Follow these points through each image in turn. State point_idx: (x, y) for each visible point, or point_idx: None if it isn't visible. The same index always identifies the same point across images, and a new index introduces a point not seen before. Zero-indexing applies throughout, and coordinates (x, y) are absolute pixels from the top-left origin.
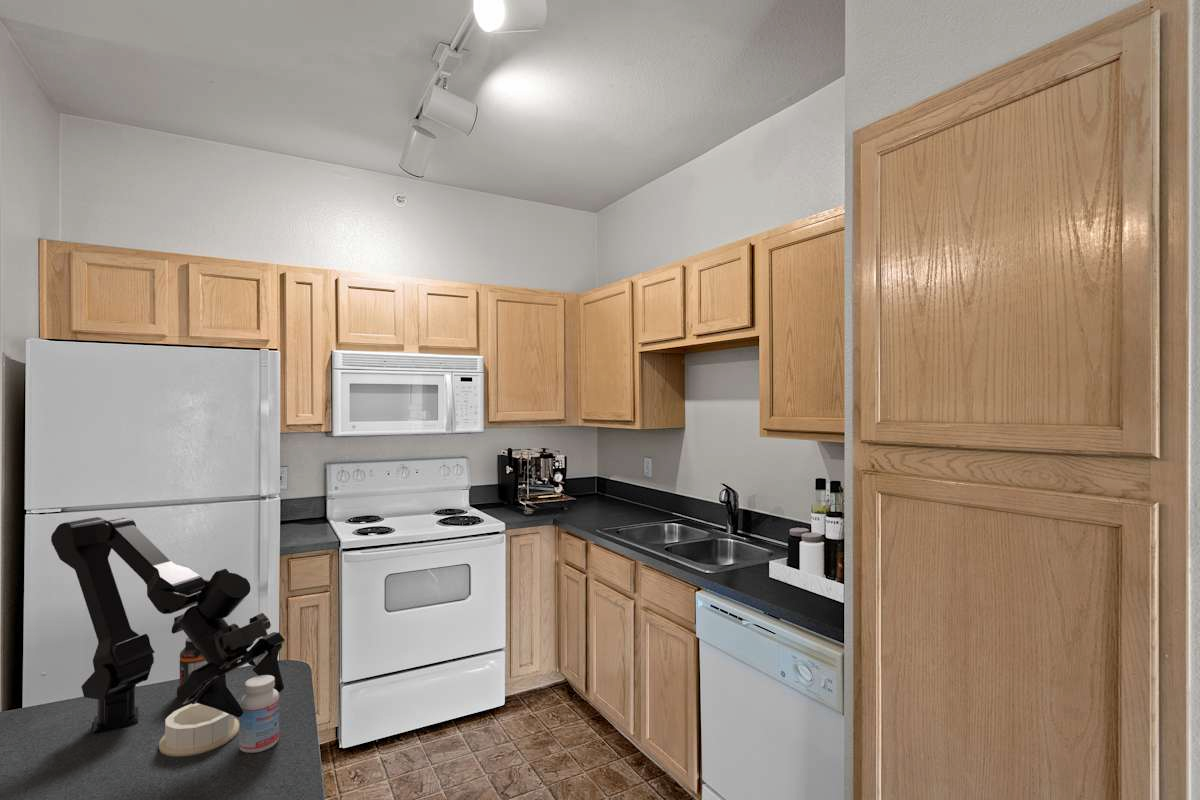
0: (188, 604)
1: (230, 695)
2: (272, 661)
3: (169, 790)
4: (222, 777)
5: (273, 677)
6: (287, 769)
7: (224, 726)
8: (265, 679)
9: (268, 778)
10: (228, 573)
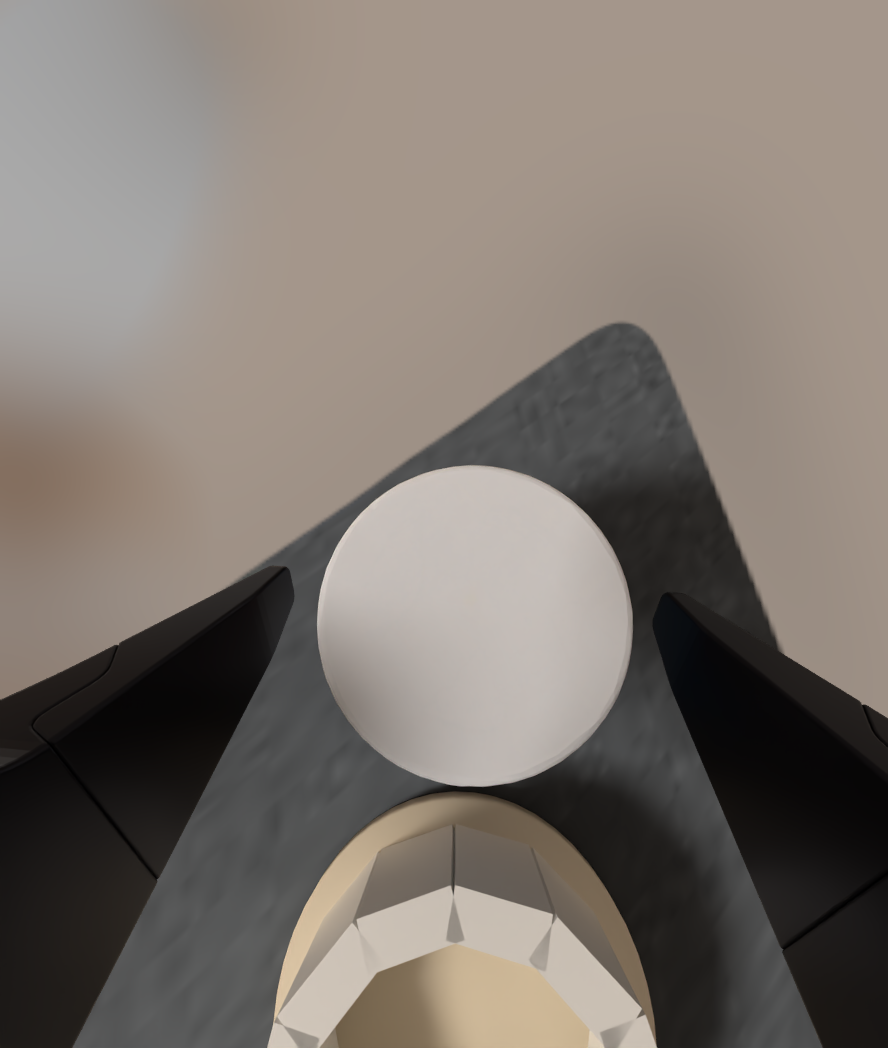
0: None
1: (837, 721)
2: (1, 753)
3: None
4: None
5: (377, 508)
6: (575, 423)
7: (472, 854)
8: (431, 566)
9: (634, 447)
10: None
